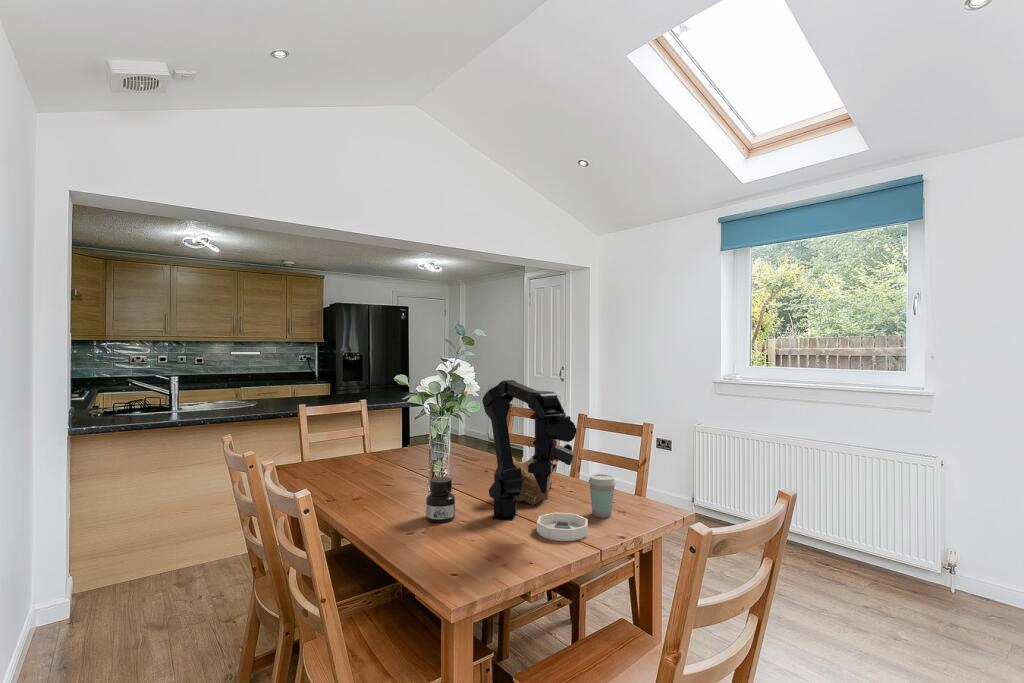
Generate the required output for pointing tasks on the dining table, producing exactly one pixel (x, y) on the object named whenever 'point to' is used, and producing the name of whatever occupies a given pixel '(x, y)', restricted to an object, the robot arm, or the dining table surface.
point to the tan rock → (529, 484)
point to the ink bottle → (440, 500)
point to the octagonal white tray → (562, 526)
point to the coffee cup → (601, 494)
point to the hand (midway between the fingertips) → (544, 492)
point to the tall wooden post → (544, 494)
